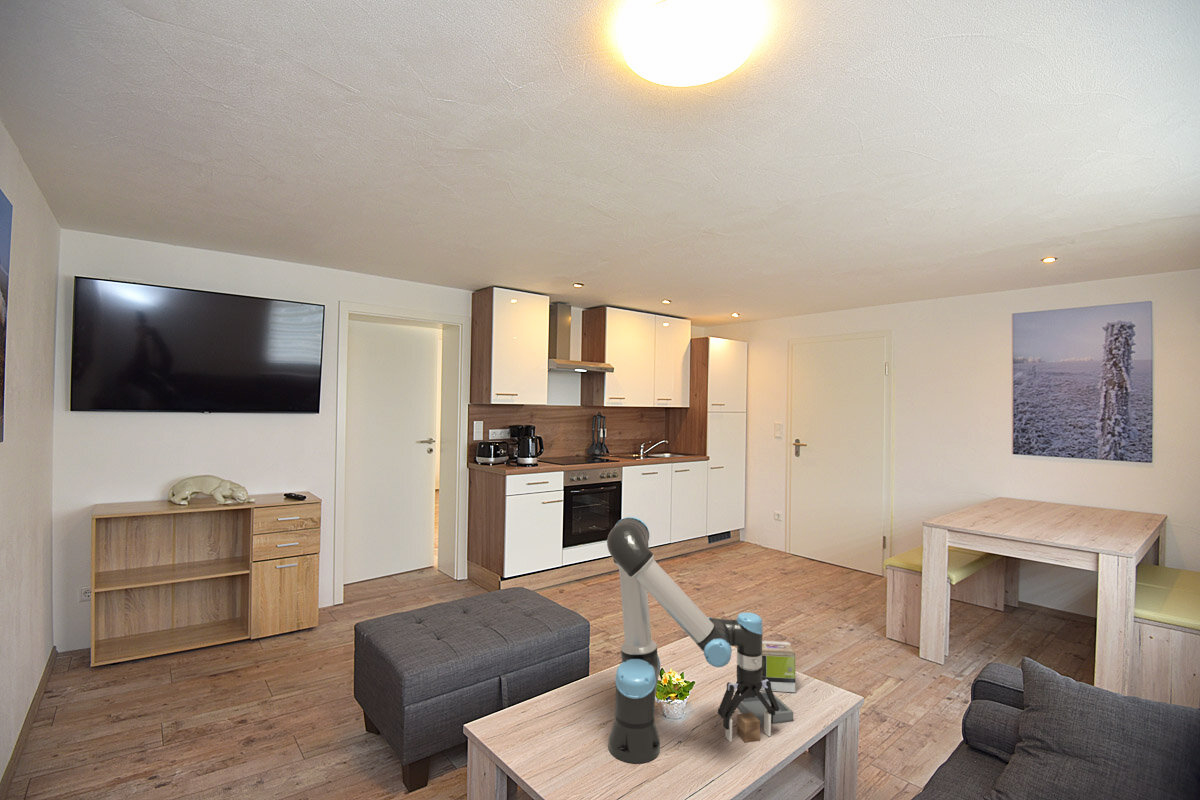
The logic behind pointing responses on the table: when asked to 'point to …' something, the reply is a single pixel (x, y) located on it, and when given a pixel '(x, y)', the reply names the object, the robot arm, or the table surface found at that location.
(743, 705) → the tray
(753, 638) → the robot arm
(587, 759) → the table surface
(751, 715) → the walnut block
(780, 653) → the tea box
